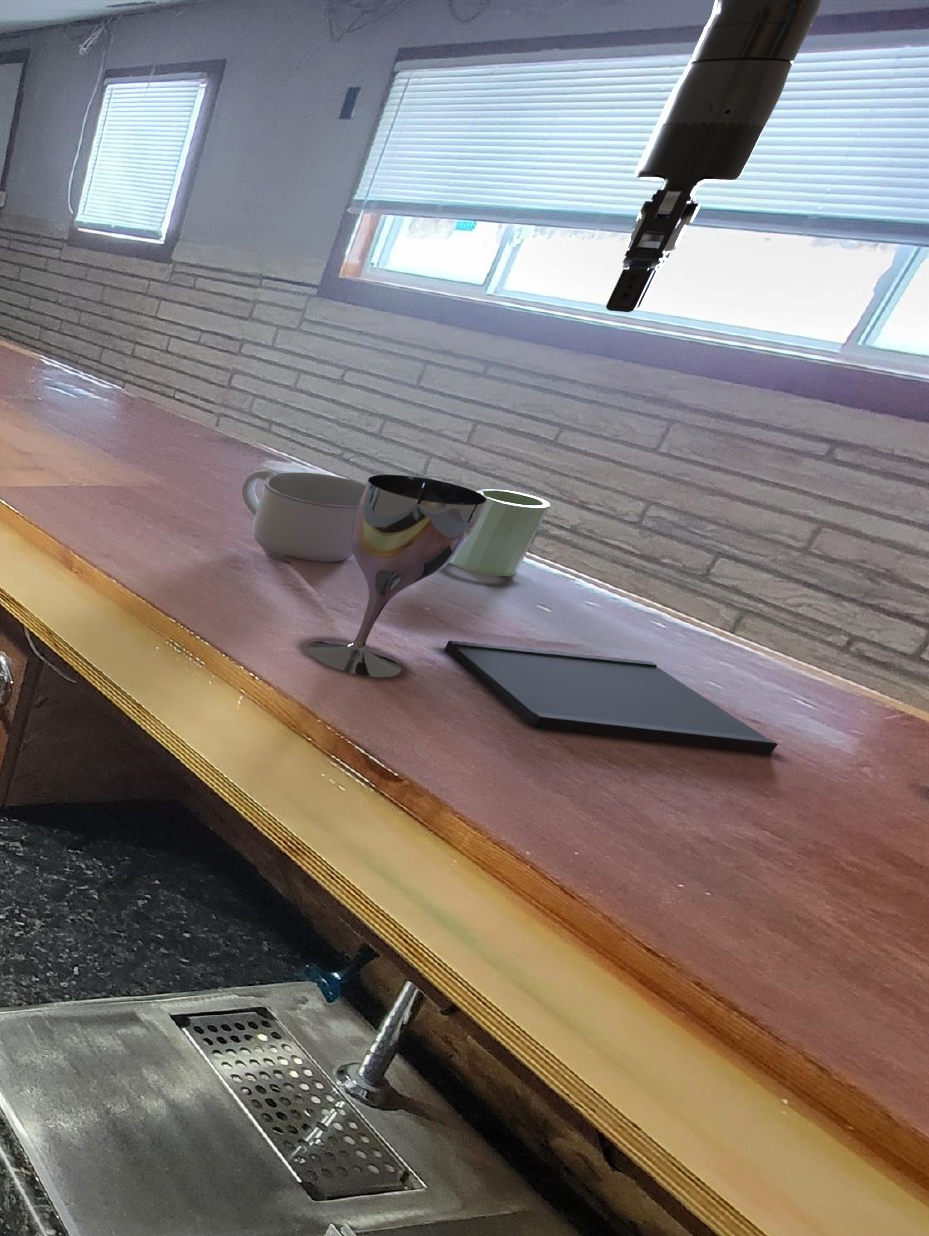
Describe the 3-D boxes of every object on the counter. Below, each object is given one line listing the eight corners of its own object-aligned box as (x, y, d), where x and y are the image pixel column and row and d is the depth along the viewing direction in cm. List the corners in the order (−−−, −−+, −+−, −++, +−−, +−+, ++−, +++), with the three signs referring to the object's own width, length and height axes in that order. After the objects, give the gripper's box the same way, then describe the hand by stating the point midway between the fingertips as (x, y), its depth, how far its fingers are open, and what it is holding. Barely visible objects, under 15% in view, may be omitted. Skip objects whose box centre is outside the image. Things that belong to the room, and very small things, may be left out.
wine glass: (392, 648, 89) (467, 482, 81) (419, 687, 82) (503, 510, 75) (292, 633, 91) (356, 469, 84) (310, 670, 84) (382, 496, 77)
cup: (490, 569, 108) (528, 492, 104) (522, 589, 103) (563, 509, 99) (430, 563, 109) (465, 486, 105) (459, 583, 104) (496, 504, 100)
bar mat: (644, 672, 87) (651, 661, 86) (769, 756, 75) (778, 743, 74) (443, 651, 89) (448, 640, 88) (533, 729, 77) (540, 716, 76)
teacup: (378, 574, 105) (410, 500, 101) (291, 578, 103) (319, 503, 99) (280, 529, 117) (305, 461, 113) (200, 533, 115) (222, 463, 111)
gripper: (768, 115, 86) (668, 318, 94) (765, 128, 95) (673, 311, 103) (654, 115, 90) (567, 308, 98) (661, 127, 100) (581, 303, 107)
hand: (621, 309), depth 100 cm, fingers open, 8 cm apart
